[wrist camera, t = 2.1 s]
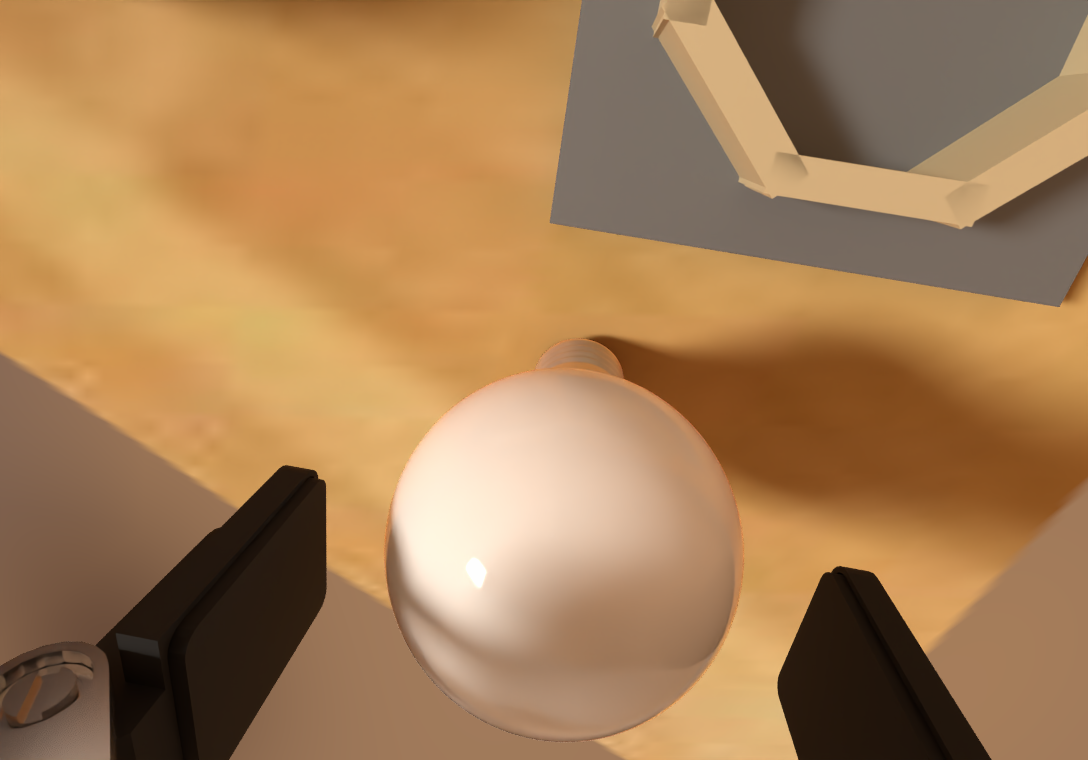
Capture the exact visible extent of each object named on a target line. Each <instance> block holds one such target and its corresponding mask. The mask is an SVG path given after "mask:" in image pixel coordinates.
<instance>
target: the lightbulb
mask: <svg viewBox="0 0 1088 760" xmlns="http://www.w3.org/2000/svg"><path fill="white" fill-rule="evenodd" d="M384 564H385V576H386V583H387V589H388V594H389V599H390V603H391V606H392V610H393V613H394V616H395V619H396V622H397V624H398V627H399V629H400V631H401V634H402V636H403V638H404V640H405V642H406V644H407V646H408V647H409V649H410V651H411V653H412V654H413V656H414V658H415V659H416V661H417V662H418V664H419V665H420V666H421V668H422V669H423V670H424V672H425V673H426V674H427V676H428V677H429V678H430V679H431V680H432V681H433V683H434V684H435V685H436V686H437V687H438V688H439V689H440V690H441V691H442V692H443V693H444V694H445V695H446V696H448V697H449V698H450V699H451V700H452V701H453V702H455V703H456V704H457V705H458V706H460V707H461V708H463V709H464V710H465V711H467V712H468V713H470V714H471V715H473V716H475V717H476V718H478V719H480V720H481V721H483V722H485V723H487V724H489V725H491V726H494V727H496V728H498V729H501V730H503V731H506V732H508V733H511V734H515V735H518V736H522V737H526V738H531V739H536V740H542V741H551V742H581V741H590V740H596V739H602V738H606V737H610V736H614V735H617V734H620V733H623V732H626V731H629V730H631V729H633V728H636V727H638V726H640V725H642V724H644V723H646V722H648V721H650V720H652V719H653V718H655V717H657V716H658V715H660V714H661V713H663V712H664V711H666V710H667V709H668V708H670V707H671V706H672V705H674V704H675V703H676V702H677V701H679V700H680V699H681V698H682V697H683V696H684V695H685V694H686V693H687V692H688V691H689V690H690V689H691V688H692V687H693V686H694V685H695V684H696V683H697V682H698V681H699V680H700V678H701V677H702V676H703V675H704V673H705V672H706V671H707V669H708V668H709V667H710V665H711V664H712V662H713V661H714V659H715V657H716V656H717V654H718V652H719V651H720V649H721V647H722V645H723V643H724V641H725V639H726V637H727V635H728V633H729V630H730V627H731V625H732V622H733V619H734V616H735V613H736V610H737V606H738V602H739V598H740V593H741V587H742V580H743V570H744V543H743V533H742V526H741V520H740V515H739V511H738V507H737V503H736V500H735V497H734V494H733V491H732V488H731V486H730V483H729V481H728V478H727V476H726V474H725V472H724V470H723V468H722V466H721V464H720V462H719V461H718V459H717V457H716V456H715V454H714V452H713V451H712V449H711V448H710V446H709V445H708V444H707V442H706V441H705V439H704V438H703V437H702V436H701V434H700V433H699V432H698V431H697V430H696V429H695V427H694V426H693V425H692V424H691V423H690V422H689V421H688V420H687V419H686V418H685V417H684V416H683V415H682V414H681V413H680V412H678V411H677V410H676V409H675V408H674V407H672V406H671V405H670V404H669V403H667V402H666V401H664V400H663V399H661V398H660V397H659V396H657V395H655V394H654V393H652V392H651V391H649V390H647V389H645V388H643V387H641V386H639V385H637V384H635V383H633V382H631V381H628V380H626V379H624V375H623V370H622V367H621V365H620V363H619V361H618V359H617V358H616V356H615V355H614V354H613V353H612V352H611V351H610V350H609V349H608V348H606V347H605V346H603V345H602V344H600V343H598V342H595V341H592V340H588V339H580V338H579V339H568V340H564V341H561V342H559V343H557V344H555V345H553V346H552V347H550V348H549V349H548V350H547V351H546V352H545V353H544V354H543V355H542V356H541V358H540V359H539V361H538V363H537V365H536V368H535V370H531V371H526V372H522V373H518V374H514V375H511V376H508V377H505V378H502V379H499V380H497V381H495V382H492V383H490V384H488V385H486V386H484V387H482V388H480V389H478V390H477V391H475V392H473V393H471V394H470V395H468V396H467V397H465V398H464V399H462V400H461V401H460V402H458V403H457V404H456V405H454V406H453V407H452V408H451V409H449V410H448V411H447V412H446V413H445V414H444V415H443V416H442V417H441V418H440V419H439V420H438V421H437V422H436V423H435V424H434V425H433V426H432V427H431V428H430V430H429V431H428V432H427V433H426V434H425V436H424V437H423V438H422V440H421V441H420V442H419V444H418V445H417V447H416V448H415V450H414V451H413V453H412V455H411V456H410V458H409V460H408V462H407V463H406V465H405V467H404V469H403V471H402V474H401V476H400V478H399V481H398V483H397V486H396V489H395V492H394V495H393V498H392V501H391V505H390V509H389V514H388V519H387V525H386V533H385V545H384Z"/></svg>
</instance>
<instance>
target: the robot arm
mask: <svg viewBox="0 0 1088 760" xmlns="http://www.w3.org/2000/svg"><path fill="white" fill-rule="evenodd" d="M325 594H326V483H325V481H324V480H321V479H318V475H317V472H316V471H314V470H310V469H304V468H299V467H293V466H288V465H285V466H282V467H281V468H279V469H278V470H277V471H276V472H275V473H274V474H273V475H272V476H271V477H270V478H269V479H268V480H267V481H266V482H265V483H264V484H263V485H262V487H261V488H260V489H259V490H258V491H257V492H256V493H255V494H254V495H253V496H252V497H251V498H250V499H249V500H248V501H247V502H246V503H245V504H244V505H243V506H242V507H241V508H240V509H239V510H238V511H237V512H236V513H235V514H234V515H233V516H232V517H231V518H230V519H229V520H228V521H227V522H226V523H225V524H224V525H223V526H222V527H220V528H217V529H214V530H213V531H212V532H210V533H209V534H208V535H207V536H206V537H205V538H204V539H203V540H202V541H201V542H200V543H199V544H198V545H197V546H196V547H194V548H193V550H192V551H190V552H189V553H188V554H187V555H186V556H185V557H184V558H183V559H182V560H181V561H180V562H179V563H178V564H177V565H176V566H175V567H174V568H173V569H172V570H171V571H170V572H169V573H168V574H167V575H166V576H165V577H164V578H163V579H162V580H161V581H160V582H159V583H158V584H157V585H156V586H155V587H154V588H153V589H152V590H151V591H150V592H149V593H148V594H147V595H146V596H145V597H144V598H143V599H142V600H141V601H140V602H139V603H138V604H137V605H136V606H135V607H134V608H133V609H132V610H131V611H130V612H129V613H128V614H127V615H126V616H125V617H124V618H123V619H122V620H121V621H120V622H119V623H118V624H117V625H116V626H115V627H114V628H113V629H111V631H109V633H107V634H106V636H105V637H103V639H101V640H100V641H99V642H98V644H96V645H91V644H88V643H85V642H61V643H55V644H50V645H45V646H42V647H39V648H36V649H34V650H31V651H28V652H26V653H23V654H21V655H19V656H17V657H15V658H13V659H12V660H10V661H8V662H6V663H4V664H3V665H1V666H0V760H229V759H230V757H231V755H232V754H233V752H234V750H235V749H236V747H237V745H238V744H239V742H240V740H241V739H242V737H243V736H244V734H245V732H246V731H247V729H248V727H249V726H250V724H251V723H252V721H253V719H254V718H255V716H256V714H257V713H258V711H259V709H260V708H261V706H262V704H263V703H264V701H265V699H266V698H267V696H268V695H269V693H270V691H271V690H272V688H273V686H274V685H275V683H276V681H277V680H278V678H279V676H280V675H281V673H282V672H283V670H284V668H285V667H286V665H287V663H288V662H289V660H290V658H291V657H292V655H293V654H294V652H295V650H296V649H297V647H298V645H299V644H300V642H301V640H302V639H303V637H304V635H305V634H306V632H307V630H308V629H309V627H310V625H311V624H312V622H313V621H314V619H315V617H316V616H317V614H318V612H319V611H320V609H321V607H322V605H323V602H324V599H325ZM778 695H779V699H780V702H781V705H782V709H783V712H784V715H785V718H786V721H787V724H788V728H789V731H790V734H791V737H792V740H793V744H794V747H795V750H796V753H797V756H798V759H799V760H991V758H990V757H989V755H988V753H987V752H986V750H985V749H984V747H983V745H982V744H981V742H980V741H979V739H978V738H977V736H976V734H975V733H974V731H973V730H972V728H971V726H970V725H969V723H968V722H967V720H966V718H965V717H964V715H963V714H962V712H961V710H960V709H959V707H958V706H957V704H956V702H955V701H954V699H953V698H952V696H951V695H950V693H949V691H948V690H947V688H946V686H945V685H944V683H943V682H942V680H941V679H940V677H939V675H938V674H937V672H936V671H935V669H934V667H933V666H932V664H931V663H930V661H929V659H928V658H927V656H926V655H925V653H924V651H923V650H922V648H921V647H920V645H919V643H918V642H917V640H916V639H915V637H914V635H913V634H912V632H911V631H910V629H909V628H908V626H907V624H906V623H905V621H904V620H903V618H902V616H901V615H900V613H899V612H898V610H897V608H896V607H895V605H894V604H893V602H892V600H891V599H890V597H889V596H888V594H887V592H886V591H885V589H884V588H883V586H882V584H881V583H880V581H879V580H878V578H877V577H876V576H875V575H874V573H871V572H869V571H864V570H858V569H853V568H847V567H842V566H838V567H836V568H834V569H833V571H832V572H831V573H830V572H827V573H825V574H823V576H822V577H821V579H820V582H819V584H818V586H817V589H816V591H815V593H814V595H813V598H812V600H811V602H810V605H809V607H808V609H807V612H806V614H805V616H804V618H803V621H802V623H801V625H800V628H799V630H798V632H797V634H796V637H795V639H794V641H793V644H792V646H791V648H790V651H789V653H788V655H787V657H786V660H785V662H784V664H783V667H782V669H781V671H780V674H779V677H778Z"/></svg>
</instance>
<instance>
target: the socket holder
mask: <svg viewBox="0 0 1088 760" xmlns="http://www.w3.org/2000/svg"><path fill="white" fill-rule="evenodd" d="M550 223H553V224H559V225H565V226H571V227H577V228H583V229H589V230H595V231H601V232H607V233H613V234H619V235H625V236H632V237H638V238H644V239H650V240H656V241H662V242H668V243H674V244H680V245H686V246H692V247H698V248H704V249H710V250H716V251H722V252H728V253H735V254H741V255H747V256H753V257H759V258H765V259H771V260H777V261H783V262H789V263H795V264H801V265H807V266H813V267H819V268H825V269H831V270H838V271H844V272H850V273H856V274H862V275H868V276H874V277H880V278H886V279H892V280H898V281H904V282H910V283H916V284H922V285H928V286H934V287H941V288H947V289H953V290H959V291H965V292H971V293H977V294H983V295H989V296H995V297H1001V298H1007V299H1013V300H1019V301H1025V302H1031V303H1037V304H1044V305H1050V306H1056V307H1060V305H1061V303H1062V301H1063V299H1064V298H1065V296H1066V294H1067V292H1068V290H1069V288H1070V287H1071V285H1072V283H1073V281H1074V279H1075V278H1076V276H1077V274H1078V272H1079V270H1080V268H1081V267H1082V265H1083V263H1084V261H1085V259H1086V257H1087V256H1088V0H582V4H581V11H580V18H579V25H578V32H577V39H576V46H575V52H574V59H573V66H572V73H571V80H570V87H569V94H568V101H567V108H566V114H565V121H564V128H563V135H562V142H561V149H560V156H559V163H558V169H557V176H556V183H555V190H554V197H553V204H552V211H551V218H550Z"/></svg>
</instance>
